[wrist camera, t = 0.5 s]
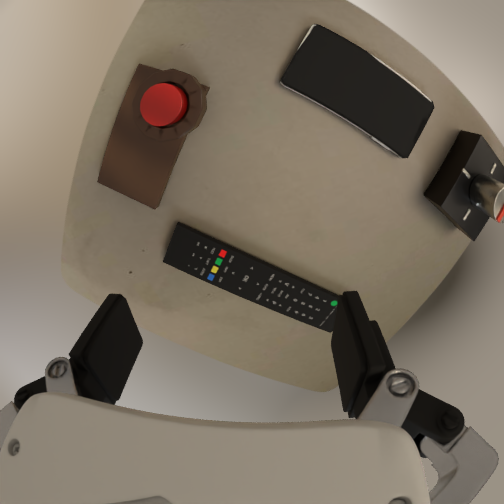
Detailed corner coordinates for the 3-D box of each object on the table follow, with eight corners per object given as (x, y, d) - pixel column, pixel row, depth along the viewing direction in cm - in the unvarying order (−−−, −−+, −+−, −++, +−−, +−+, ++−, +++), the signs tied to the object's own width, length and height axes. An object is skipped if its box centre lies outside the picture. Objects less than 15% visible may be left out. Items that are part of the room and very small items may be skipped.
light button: (157, 79, 20) (150, 77, 19) (194, 92, 21) (189, 91, 20) (141, 117, 22) (133, 117, 21) (176, 131, 23) (170, 132, 21)
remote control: (180, 219, 30) (176, 224, 29) (354, 300, 34) (357, 306, 33) (166, 256, 32) (162, 261, 31) (331, 327, 36) (333, 333, 35)
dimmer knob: (480, 166, 20) (508, 179, 16) (495, 187, 21) (521, 201, 17) (464, 195, 22) (490, 211, 18) (480, 214, 23) (504, 231, 19)
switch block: (145, 61, 22) (133, 57, 19) (220, 87, 23) (215, 84, 20) (102, 179, 28) (88, 186, 25) (166, 209, 29) (156, 219, 27)
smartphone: (314, 20, 18) (436, 103, 20) (312, 24, 19) (430, 103, 22) (278, 84, 22) (405, 162, 24) (277, 85, 23) (400, 160, 25)
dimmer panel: (460, 129, 22) (481, 134, 19) (492, 170, 24) (512, 179, 20) (422, 194, 27) (440, 206, 23) (458, 228, 28) (475, 242, 25)
